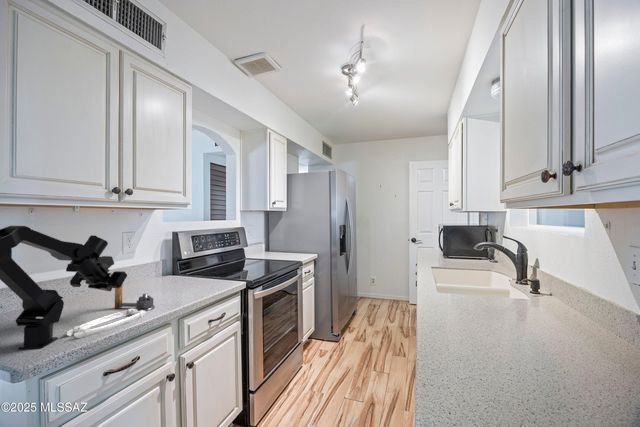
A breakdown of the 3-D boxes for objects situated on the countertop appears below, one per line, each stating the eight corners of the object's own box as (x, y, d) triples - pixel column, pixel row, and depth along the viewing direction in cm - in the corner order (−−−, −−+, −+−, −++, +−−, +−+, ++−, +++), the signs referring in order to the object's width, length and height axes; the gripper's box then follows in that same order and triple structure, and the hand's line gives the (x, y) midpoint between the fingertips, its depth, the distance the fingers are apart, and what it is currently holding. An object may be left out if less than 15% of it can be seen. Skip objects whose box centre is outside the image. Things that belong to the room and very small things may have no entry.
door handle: (59, 337, 94) (133, 312, 117) (79, 342, 90) (151, 315, 114) (59, 329, 94) (133, 305, 117) (79, 334, 90) (151, 309, 114)
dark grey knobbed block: (150, 311, 118) (150, 296, 118) (131, 311, 117) (131, 296, 117) (157, 305, 125) (157, 291, 125) (140, 306, 124) (140, 292, 124)
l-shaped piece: (153, 305, 123) (153, 271, 123) (147, 309, 119) (147, 273, 119) (118, 305, 123) (119, 271, 123) (111, 309, 118) (111, 273, 118)
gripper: (124, 250, 111) (142, 273, 122) (76, 249, 111) (99, 272, 122) (108, 276, 103) (129, 297, 114) (57, 274, 103) (83, 296, 115)
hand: (110, 290), depth 116 cm, fingers closed
